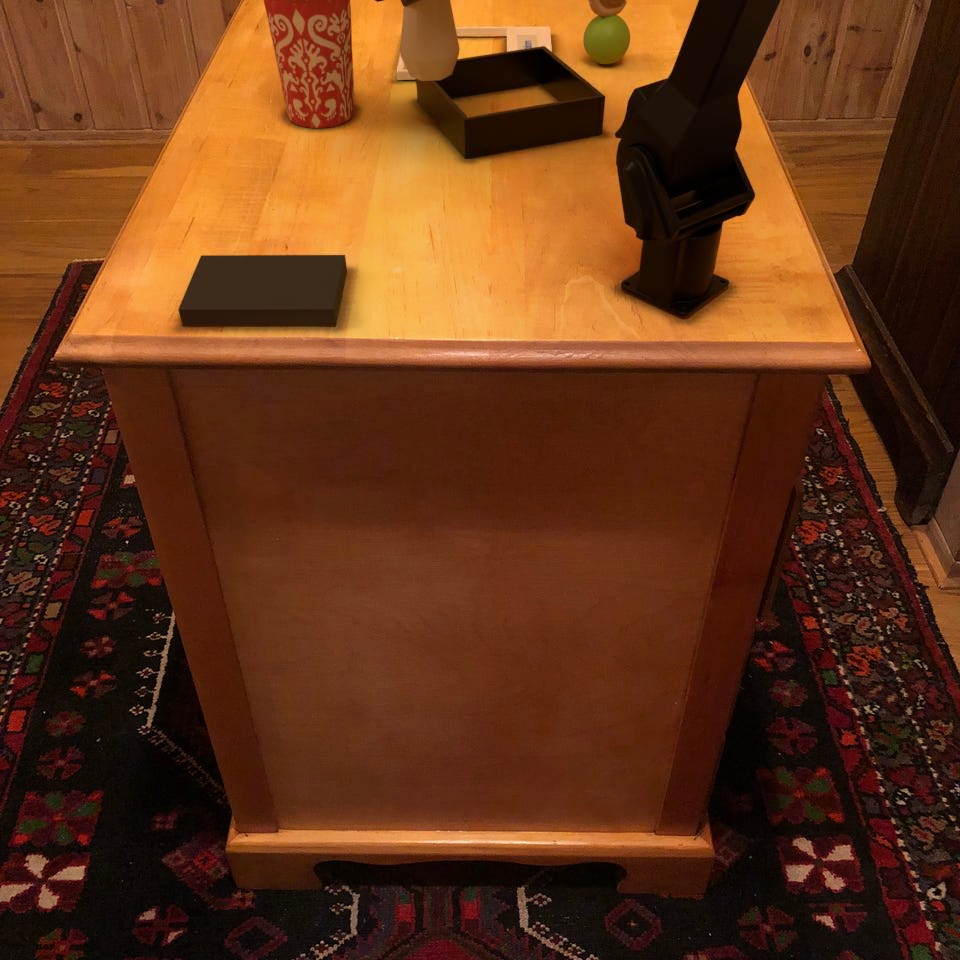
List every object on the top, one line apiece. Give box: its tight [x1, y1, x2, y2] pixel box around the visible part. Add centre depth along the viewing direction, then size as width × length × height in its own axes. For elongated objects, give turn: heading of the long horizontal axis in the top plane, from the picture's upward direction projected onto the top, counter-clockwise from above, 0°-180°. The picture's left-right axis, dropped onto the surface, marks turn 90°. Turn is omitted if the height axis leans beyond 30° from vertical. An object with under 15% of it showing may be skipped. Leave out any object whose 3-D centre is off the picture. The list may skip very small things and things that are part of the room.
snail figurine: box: [582, 0, 631, 65], centre depth 108 cm, size 5×6×12 cm
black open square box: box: [415, 46, 606, 160], centre depth 100 cm, size 15×15×4 cm
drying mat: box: [178, 254, 348, 327], centre depth 76 cm, size 8×12×2 cm, turn 90°
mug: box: [263, 0, 356, 129], centre depth 99 cm, size 13×9×14 cm
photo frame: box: [396, 26, 553, 81], centre depth 114 cm, size 15×1×18 cm
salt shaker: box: [399, 0, 460, 81], centre depth 89 cm, size 6×6×13 cm
